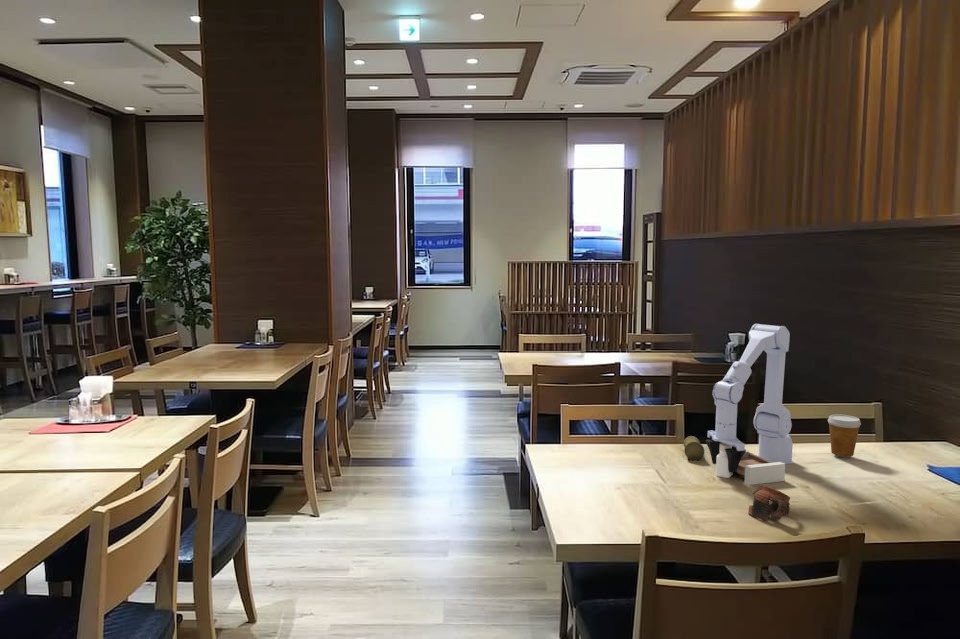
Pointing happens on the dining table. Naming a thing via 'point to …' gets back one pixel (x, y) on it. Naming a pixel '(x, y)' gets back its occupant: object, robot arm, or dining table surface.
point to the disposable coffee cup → (843, 434)
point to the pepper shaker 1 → (693, 448)
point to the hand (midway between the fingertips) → (724, 467)
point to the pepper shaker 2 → (722, 462)
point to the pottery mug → (765, 509)
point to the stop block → (764, 473)
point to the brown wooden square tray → (749, 462)
